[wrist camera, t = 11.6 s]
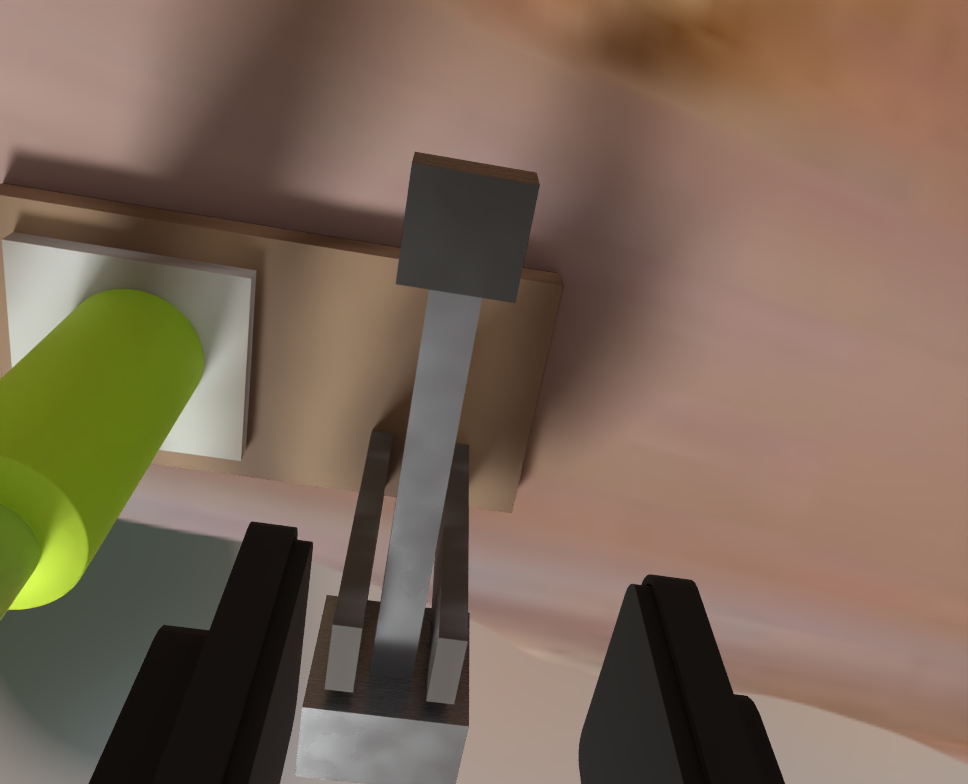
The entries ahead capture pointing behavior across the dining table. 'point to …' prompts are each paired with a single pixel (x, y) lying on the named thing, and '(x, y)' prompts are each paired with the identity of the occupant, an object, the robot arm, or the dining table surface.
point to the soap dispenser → (85, 434)
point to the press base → (297, 371)
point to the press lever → (421, 486)
